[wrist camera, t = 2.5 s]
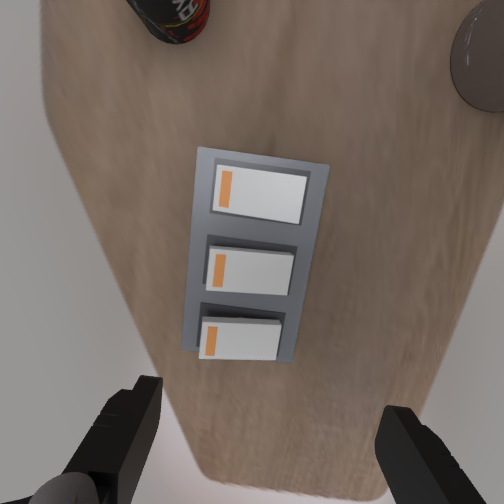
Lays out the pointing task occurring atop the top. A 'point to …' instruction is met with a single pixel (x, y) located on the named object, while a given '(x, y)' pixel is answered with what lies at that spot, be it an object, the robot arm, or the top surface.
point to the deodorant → (172, 18)
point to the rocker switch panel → (250, 237)
